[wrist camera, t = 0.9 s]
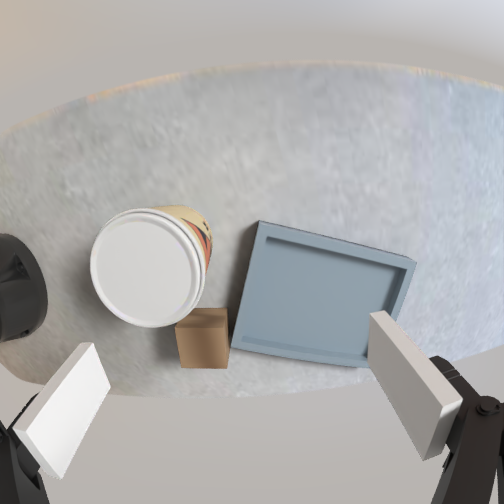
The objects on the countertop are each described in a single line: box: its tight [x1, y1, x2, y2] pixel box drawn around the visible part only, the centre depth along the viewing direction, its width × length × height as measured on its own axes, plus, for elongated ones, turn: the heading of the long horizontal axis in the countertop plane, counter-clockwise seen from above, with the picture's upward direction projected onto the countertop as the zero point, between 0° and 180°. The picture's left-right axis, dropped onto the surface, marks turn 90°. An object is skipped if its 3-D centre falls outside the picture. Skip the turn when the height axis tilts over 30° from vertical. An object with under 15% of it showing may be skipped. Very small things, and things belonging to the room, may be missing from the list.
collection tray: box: [231, 220, 417, 369], centre depth 33 cm, size 18×14×2 cm
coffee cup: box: [90, 205, 213, 328], centre depth 27 cm, size 9×9×12 cm
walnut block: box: [175, 308, 230, 369], centre depth 33 cm, size 5×5×5 cm
